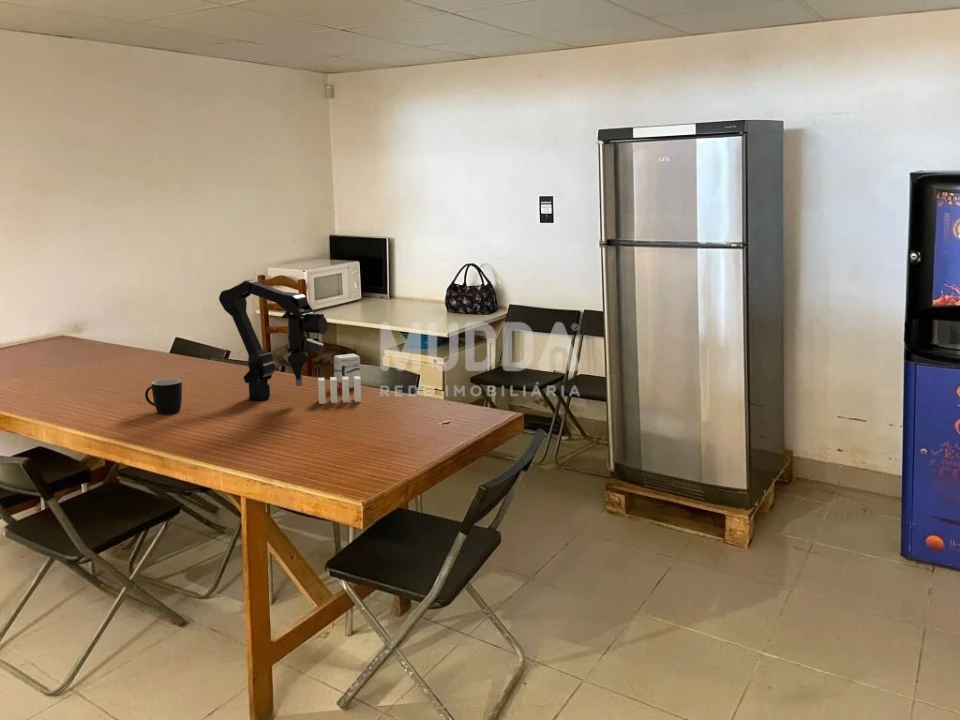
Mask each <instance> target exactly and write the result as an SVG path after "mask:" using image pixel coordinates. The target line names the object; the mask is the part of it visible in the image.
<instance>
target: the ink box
mask: <svg viewBox="0 0 960 720" xmlns="http://www.w3.org/2000/svg"><path fill="white" fill-rule="evenodd" d="M354 376H360V377H361V356H360V355H357V354H355V353H347V354H338V355H334V356H333V377H336V379H337V390H342V377H348V378H349V389H354V388H353V387H354Z"/></svg>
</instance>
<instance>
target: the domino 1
mask: <svg viewBox="0 0 960 720" xmlns="http://www.w3.org/2000/svg"><path fill="white" fill-rule="evenodd" d="M302 372H303V371H302ZM302 372H301V377H300V380H297V379H296V378H295V386H296V387H302V386H303V378H302V377H303V374H302Z"/></svg>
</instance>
